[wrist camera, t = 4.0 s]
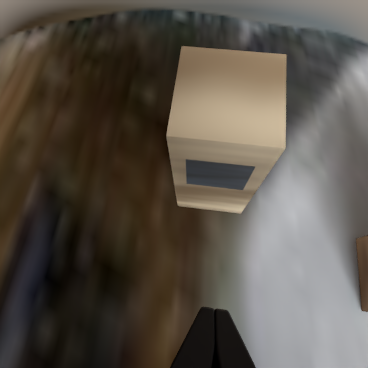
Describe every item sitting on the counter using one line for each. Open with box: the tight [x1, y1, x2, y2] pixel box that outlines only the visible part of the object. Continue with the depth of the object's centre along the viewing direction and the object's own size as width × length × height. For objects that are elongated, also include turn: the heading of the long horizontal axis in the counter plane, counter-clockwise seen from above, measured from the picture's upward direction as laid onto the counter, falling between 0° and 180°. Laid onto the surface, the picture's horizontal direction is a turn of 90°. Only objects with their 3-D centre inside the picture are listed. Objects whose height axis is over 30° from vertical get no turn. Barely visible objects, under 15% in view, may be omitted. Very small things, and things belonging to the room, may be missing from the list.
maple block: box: [166, 46, 286, 213], centre depth 18 cm, size 5×5×11 cm
